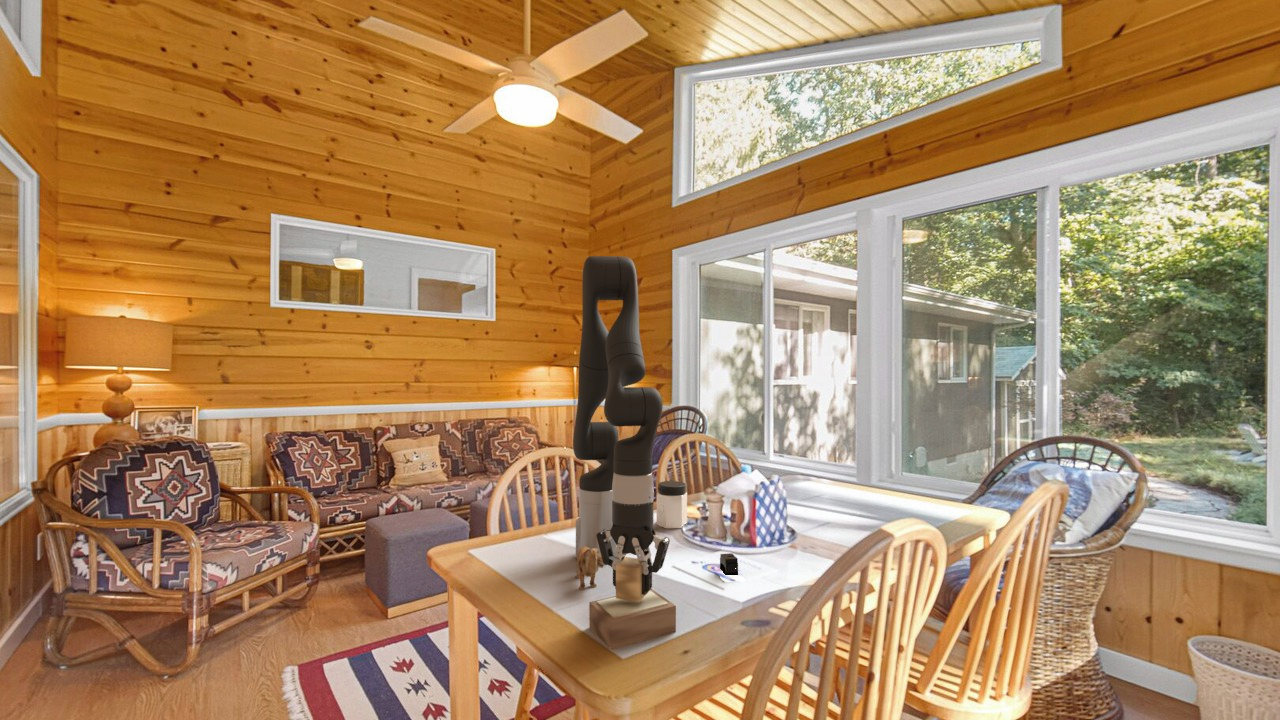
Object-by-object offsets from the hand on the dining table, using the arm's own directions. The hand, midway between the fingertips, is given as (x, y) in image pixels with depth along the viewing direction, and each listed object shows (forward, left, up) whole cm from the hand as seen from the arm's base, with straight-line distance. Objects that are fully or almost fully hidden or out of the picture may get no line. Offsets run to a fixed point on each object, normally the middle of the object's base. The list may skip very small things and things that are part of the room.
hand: (632, 590), depth 106 cm
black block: (+10, +33, -8) cm, 36 cm away
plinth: (0, 0, -7) cm, 7 cm away
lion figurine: (-17, +16, -7) cm, 25 cm away
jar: (-14, +64, -7) cm, 66 cm away
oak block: (0, 0, -1) cm, 1 cm away
